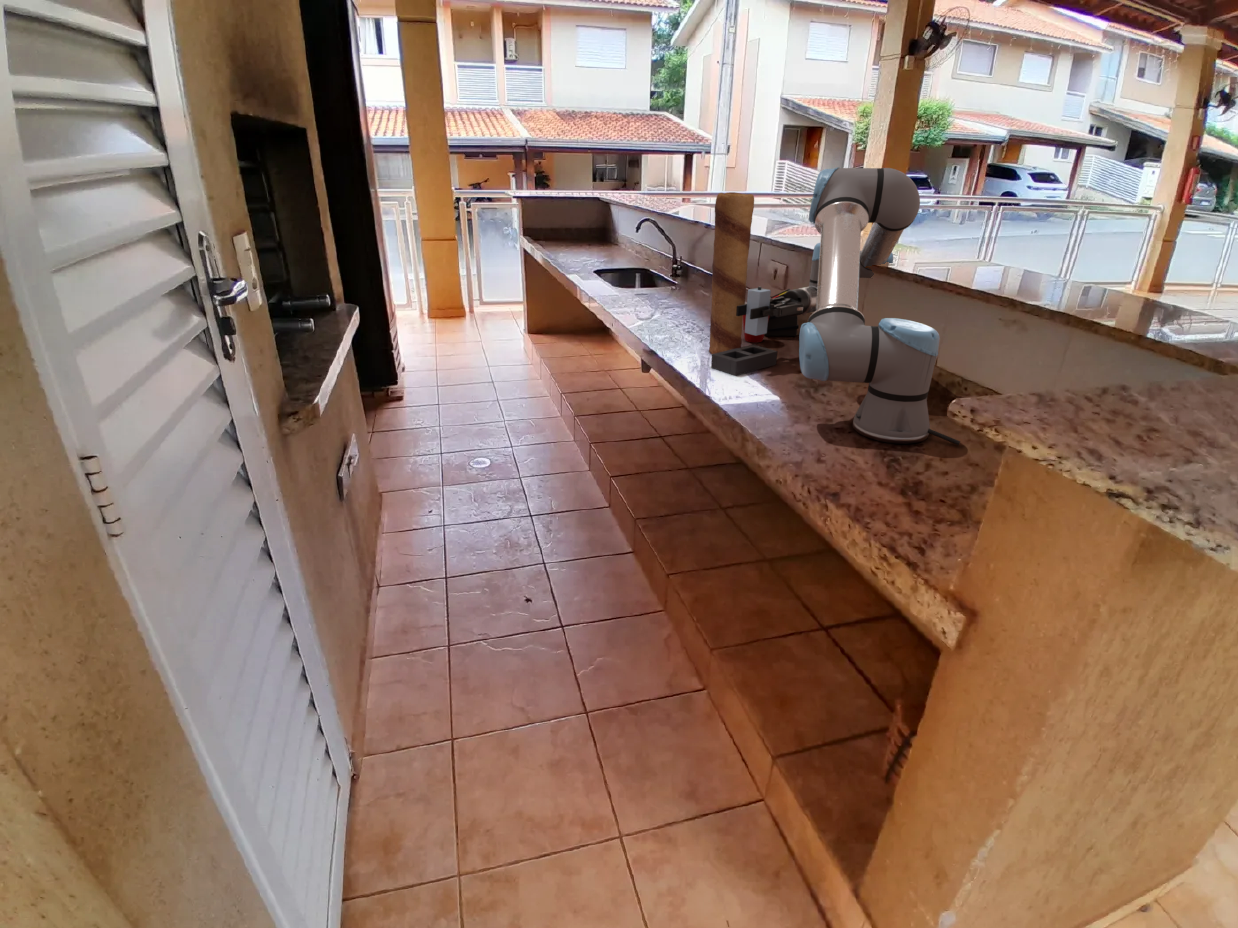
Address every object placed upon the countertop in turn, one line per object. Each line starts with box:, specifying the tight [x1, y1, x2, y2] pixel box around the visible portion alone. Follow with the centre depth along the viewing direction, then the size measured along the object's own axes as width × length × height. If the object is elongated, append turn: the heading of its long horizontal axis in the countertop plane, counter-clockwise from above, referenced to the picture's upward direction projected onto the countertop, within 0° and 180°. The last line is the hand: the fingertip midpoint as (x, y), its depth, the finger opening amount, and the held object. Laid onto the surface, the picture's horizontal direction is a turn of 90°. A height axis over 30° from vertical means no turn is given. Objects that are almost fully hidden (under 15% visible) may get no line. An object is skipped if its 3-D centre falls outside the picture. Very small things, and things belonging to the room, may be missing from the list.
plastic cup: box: [742, 301, 770, 343], centre depth 199 cm, size 11×11×12 cm
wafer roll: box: [708, 191, 755, 355], centre depth 179 cm, size 10×11×45 cm
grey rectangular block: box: [745, 286, 772, 336], centre depth 171 cm, size 4×4×13 cm
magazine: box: [764, 288, 800, 337], centre depth 205 cm, size 4×13×15 cm, turn 88°
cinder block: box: [710, 344, 778, 376], centre depth 175 cm, size 9×17×4 cm, turn 126°
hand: (744, 312), depth 168 cm, fingers closed on grey rectangular block, 4 cm apart
